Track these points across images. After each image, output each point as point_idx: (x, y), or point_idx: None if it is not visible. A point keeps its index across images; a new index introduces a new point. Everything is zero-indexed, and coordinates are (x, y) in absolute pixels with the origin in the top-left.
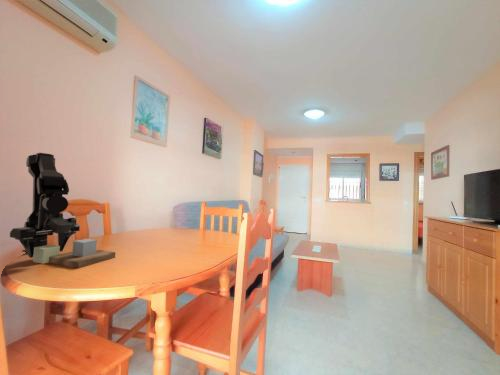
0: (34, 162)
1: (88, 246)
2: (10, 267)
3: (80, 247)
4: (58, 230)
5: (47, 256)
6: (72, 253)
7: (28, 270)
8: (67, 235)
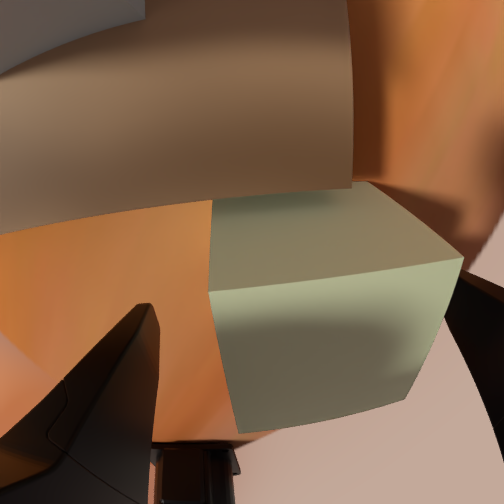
0: None
1: None
2: None
3: None
4: None
5: (360, 209)
6: (138, 10)
7: (482, 115)
8: (12, 485)
